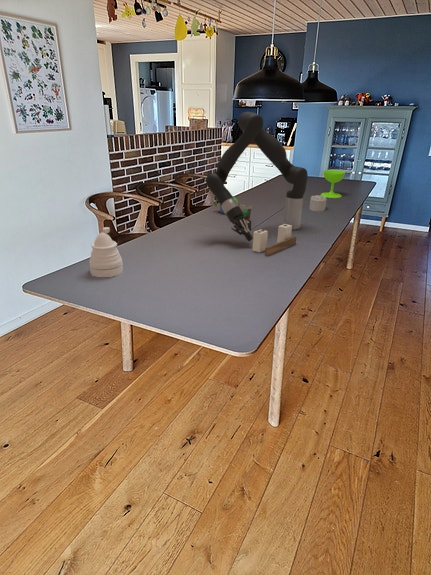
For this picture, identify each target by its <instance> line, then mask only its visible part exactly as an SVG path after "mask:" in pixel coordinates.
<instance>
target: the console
mask: <svg viewBox="0 0 431 575" xmlns="http://www.w3.org/2000/svg"><path fill="white" fill-rule="evenodd" d="M295 245H297V236H296V235H293V236H291V238H289V239H286V240H284V241H281V242H279V243H277V242H276V243H274V244H271V245H269V246H267V247H266V250H264V251H265V252H264V253H265V254H264V256H266V257H269V256H271V255H273V254H276V253H278V252H281V251H283V250H285V249H287V248H289V247H292V246H295Z"/></svg>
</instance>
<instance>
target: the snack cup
mask: <svg viewBox="0 0 431 575" xmlns="http://www.w3.org/2000/svg"><path fill="white" fill-rule="evenodd" d="M232 197H233V198H234V200H235V201H236V202H237V204H239V201H238V199H237V198H236V196H234V195H232ZM217 201H218V200H217V198H216V197H215V201H214V206H215V207H217V206H218V203H217ZM219 210H220V213H221V214H225V213H224V211H223V209H222V207H221V205H220V204H219ZM225 215H226V214H225Z"/></svg>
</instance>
